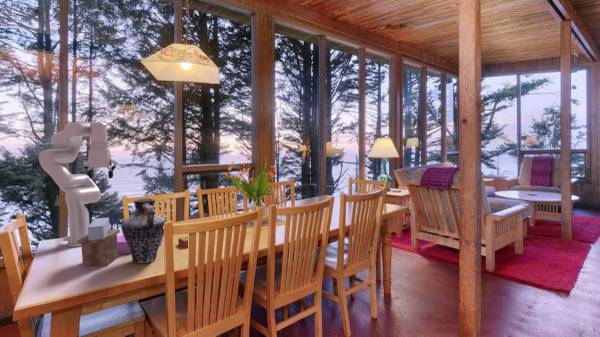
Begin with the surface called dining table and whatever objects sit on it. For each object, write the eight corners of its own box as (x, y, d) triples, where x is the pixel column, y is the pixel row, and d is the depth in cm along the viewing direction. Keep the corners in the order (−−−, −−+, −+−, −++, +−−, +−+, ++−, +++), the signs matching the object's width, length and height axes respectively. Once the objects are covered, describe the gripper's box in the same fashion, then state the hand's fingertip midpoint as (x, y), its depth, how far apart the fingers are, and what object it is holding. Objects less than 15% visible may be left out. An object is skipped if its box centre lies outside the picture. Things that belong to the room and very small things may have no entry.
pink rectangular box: (115, 256, 169) (113, 230, 168) (111, 248, 182) (109, 224, 180) (166, 246, 184) (165, 223, 183) (159, 240, 196) (158, 218, 195)
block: (95, 230, 167) (95, 218, 167) (109, 229, 170) (108, 217, 169) (88, 240, 151) (87, 227, 150) (103, 238, 153) (103, 225, 152)
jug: (116, 261, 162) (113, 199, 159) (155, 250, 177) (153, 194, 174) (135, 271, 149) (132, 205, 146) (176, 259, 164) (174, 199, 161)
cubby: (79, 269, 152) (77, 240, 151) (98, 256, 169) (96, 230, 168) (104, 268, 153) (102, 239, 152) (120, 255, 170) (119, 229, 169)
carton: (178, 245, 188) (178, 237, 187) (205, 239, 198) (205, 232, 198) (184, 248, 181) (183, 240, 181) (211, 242, 192) (211, 235, 191)
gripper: (78, 146, 172) (80, 179, 173) (113, 146, 173) (114, 178, 175) (86, 145, 179) (87, 177, 181) (119, 145, 181) (121, 177, 182)
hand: (101, 178), depth 178 cm, fingers open, 9 cm apart
